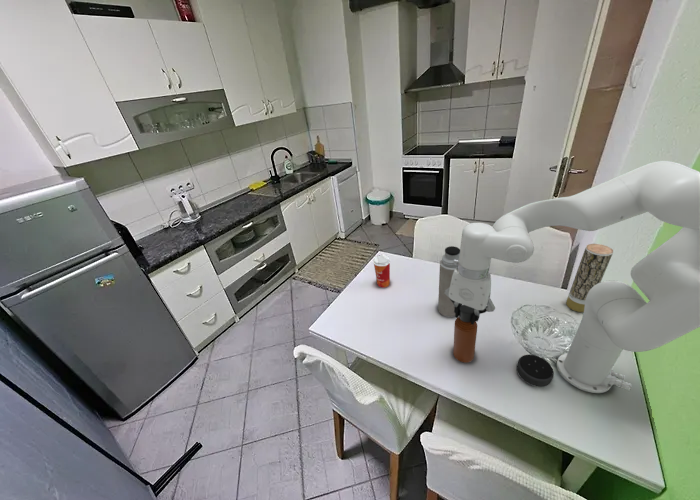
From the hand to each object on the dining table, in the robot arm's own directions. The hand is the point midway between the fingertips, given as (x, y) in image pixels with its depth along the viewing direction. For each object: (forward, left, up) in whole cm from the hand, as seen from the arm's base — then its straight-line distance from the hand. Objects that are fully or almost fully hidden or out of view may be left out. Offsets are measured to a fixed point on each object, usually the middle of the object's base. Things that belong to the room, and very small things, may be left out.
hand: (465, 317), depth 82 cm
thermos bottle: (+11, -17, -17) cm, 27 cm away
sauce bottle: (-1, 0, -17) cm, 17 cm away
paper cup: (+42, -18, -17) cm, 49 cm away
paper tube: (-27, -42, -17) cm, 53 cm away
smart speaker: (-20, -4, -17) cm, 26 cm away
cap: (0, 0, 0) cm, 0 cm away
